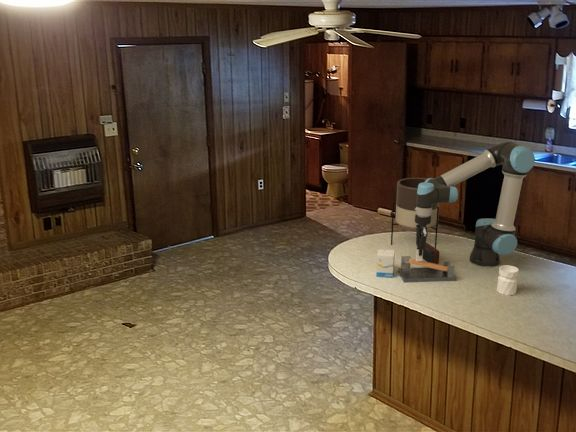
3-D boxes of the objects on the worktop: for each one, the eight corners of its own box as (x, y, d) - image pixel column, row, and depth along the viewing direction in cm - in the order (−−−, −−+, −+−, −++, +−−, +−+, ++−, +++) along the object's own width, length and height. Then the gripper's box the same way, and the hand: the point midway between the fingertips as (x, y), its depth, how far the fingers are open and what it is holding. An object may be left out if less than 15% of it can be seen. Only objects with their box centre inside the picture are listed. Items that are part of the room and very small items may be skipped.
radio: (417, 255, 345) (418, 229, 341) (422, 255, 346) (424, 229, 342) (435, 268, 329) (437, 241, 324) (440, 268, 330) (442, 240, 325)
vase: (494, 288, 306) (496, 265, 302) (512, 288, 305) (515, 265, 301) (499, 296, 297) (502, 272, 293) (518, 296, 297) (521, 272, 293)
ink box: (393, 278, 318) (394, 256, 314) (376, 276, 320) (376, 255, 316) (394, 271, 326) (394, 249, 322) (377, 270, 328) (377, 248, 324)
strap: (448, 269, 319) (449, 266, 318) (450, 272, 315) (451, 270, 314) (408, 260, 316) (409, 257, 316) (410, 264, 312) (411, 261, 311)
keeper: (409, 267, 325) (410, 255, 323) (412, 273, 318) (413, 261, 316) (400, 268, 325) (401, 256, 323) (403, 273, 318) (404, 261, 316)
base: (448, 270, 326) (449, 256, 324) (456, 280, 314) (457, 266, 312) (398, 271, 325) (398, 258, 323) (403, 282, 313) (404, 268, 310)
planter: (449, 242, 363) (454, 182, 352) (425, 255, 346) (429, 192, 335) (410, 232, 380) (413, 174, 369) (386, 243, 363) (388, 183, 352)
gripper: (412, 210, 313) (408, 255, 320) (418, 219, 300) (414, 265, 308) (427, 210, 313) (423, 255, 320) (434, 219, 301) (430, 265, 308)
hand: (419, 260), depth 314 cm, fingers closed
